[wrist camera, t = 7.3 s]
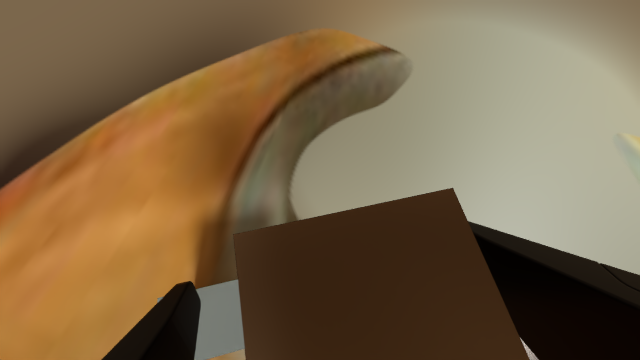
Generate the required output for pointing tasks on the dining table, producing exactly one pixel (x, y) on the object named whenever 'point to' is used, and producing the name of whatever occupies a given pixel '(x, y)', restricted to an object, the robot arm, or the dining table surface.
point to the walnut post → (373, 287)
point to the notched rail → (219, 321)
